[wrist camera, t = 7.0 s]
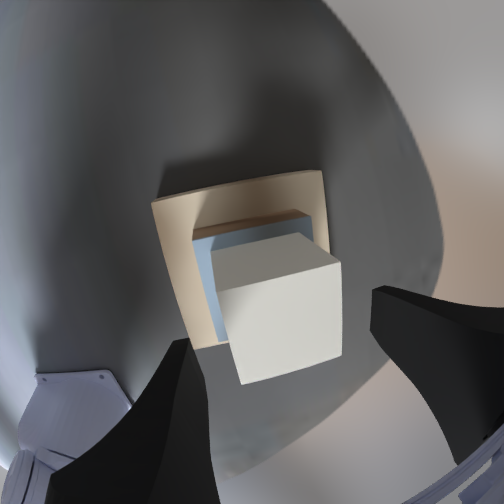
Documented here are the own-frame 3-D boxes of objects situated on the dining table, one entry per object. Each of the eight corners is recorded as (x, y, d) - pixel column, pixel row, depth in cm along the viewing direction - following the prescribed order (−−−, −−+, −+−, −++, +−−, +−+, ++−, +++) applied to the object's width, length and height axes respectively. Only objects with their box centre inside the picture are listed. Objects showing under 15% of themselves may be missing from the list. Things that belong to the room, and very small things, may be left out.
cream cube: (228, 328, 15) (241, 384, 11) (209, 251, 13) (216, 292, 9) (306, 308, 15) (341, 355, 11) (298, 232, 14) (340, 261, 10)
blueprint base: (193, 333, 20) (194, 373, 15) (156, 198, 16) (141, 210, 12) (321, 302, 21) (348, 333, 17) (309, 169, 18) (341, 172, 13)
